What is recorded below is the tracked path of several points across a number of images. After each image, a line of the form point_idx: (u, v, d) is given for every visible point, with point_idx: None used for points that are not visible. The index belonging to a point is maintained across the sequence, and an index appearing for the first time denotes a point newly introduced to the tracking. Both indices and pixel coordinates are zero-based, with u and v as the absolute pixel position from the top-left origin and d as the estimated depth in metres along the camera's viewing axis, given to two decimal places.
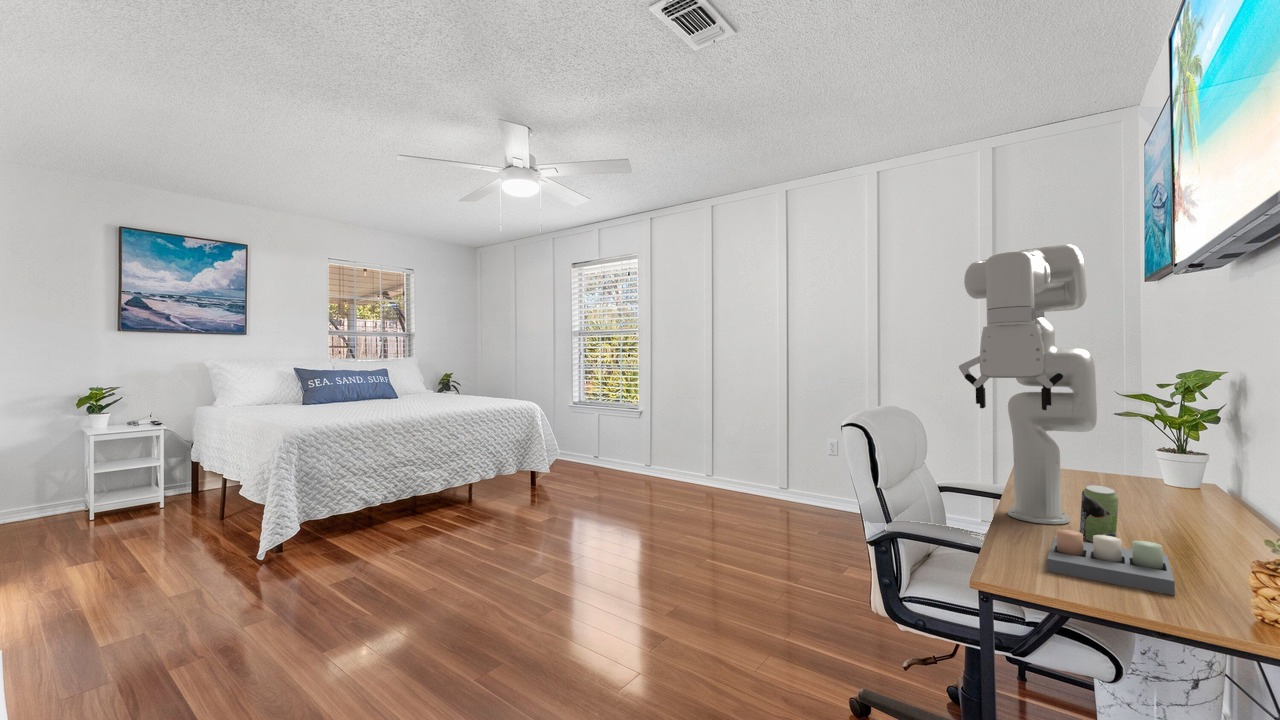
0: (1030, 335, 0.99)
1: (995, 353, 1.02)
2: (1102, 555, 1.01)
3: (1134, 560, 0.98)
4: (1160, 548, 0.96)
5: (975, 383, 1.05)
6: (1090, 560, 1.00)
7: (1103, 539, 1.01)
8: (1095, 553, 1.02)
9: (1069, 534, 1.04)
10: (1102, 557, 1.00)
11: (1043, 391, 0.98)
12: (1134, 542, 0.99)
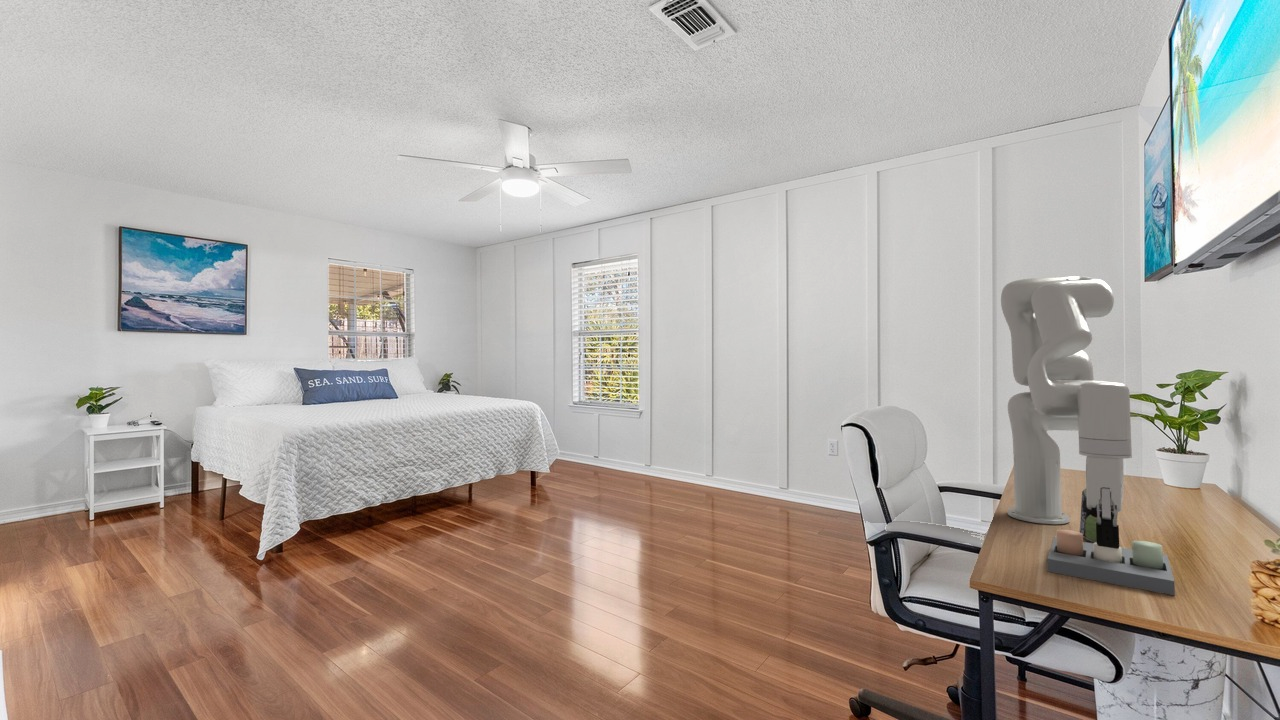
0: None
1: None
2: None
3: (1134, 560, 0.98)
4: (1160, 548, 0.96)
5: None
6: (1090, 560, 1.00)
7: None
8: None
9: (1069, 534, 1.04)
10: None
11: None
12: (1134, 542, 0.99)
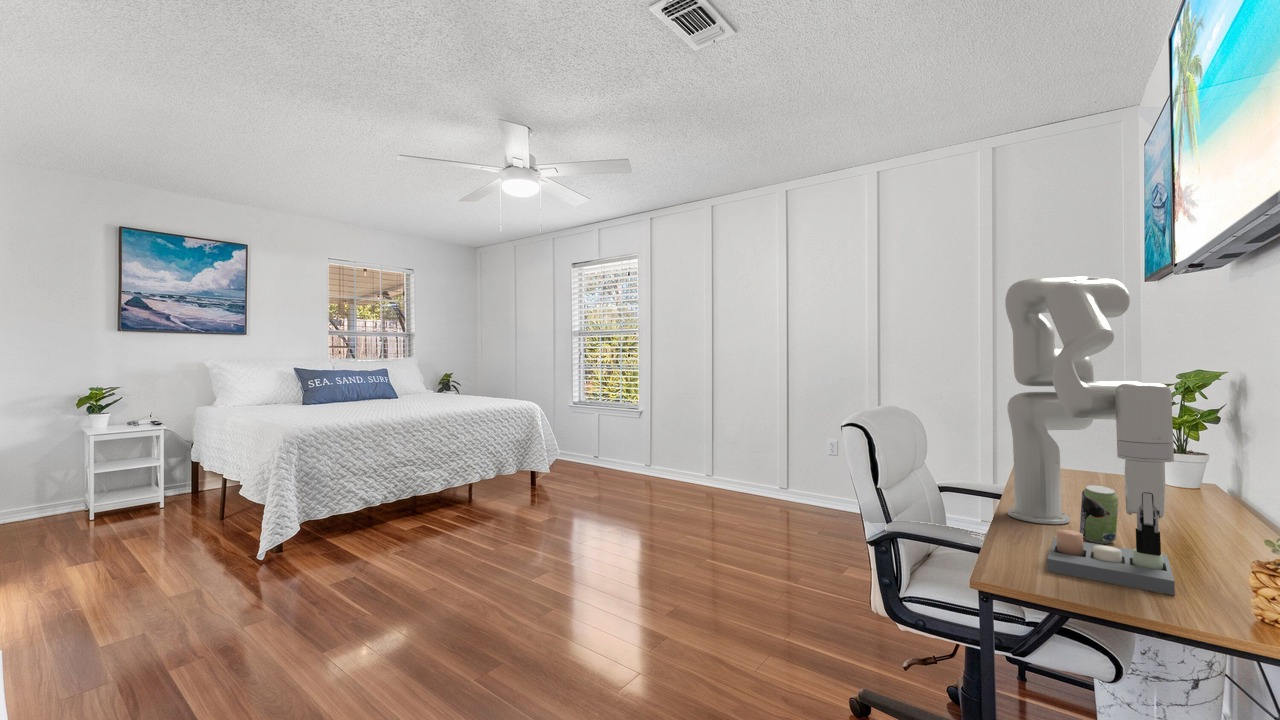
0: None
1: None
2: None
3: None
4: (1160, 557, 0.96)
5: None
6: (1090, 560, 1.00)
7: (1103, 550, 1.01)
8: None
9: (1069, 534, 1.04)
10: None
11: None
12: (1134, 550, 0.99)
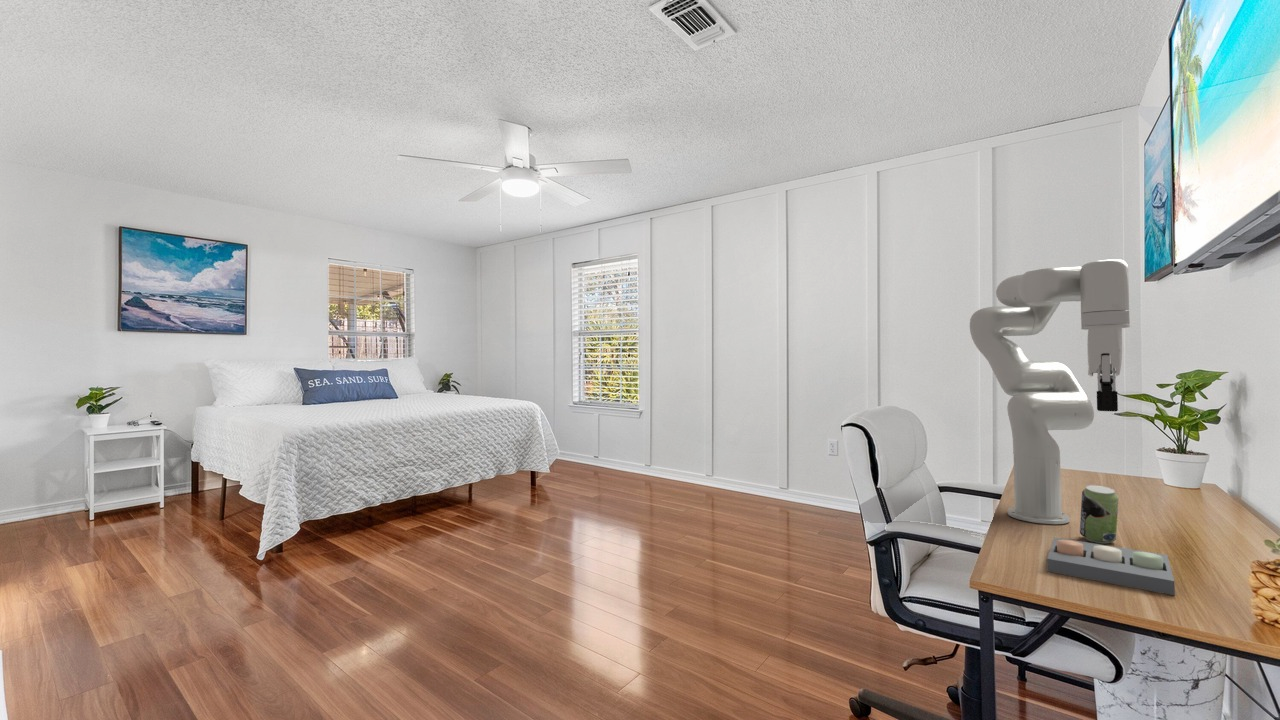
0: None
1: (1121, 353, 1.07)
2: None
3: None
4: (1160, 559, 0.96)
5: (1114, 389, 1.09)
6: (1090, 560, 1.00)
7: (1103, 550, 1.01)
8: None
9: (1069, 544, 1.04)
10: None
11: (1116, 394, 1.10)
12: (1134, 553, 0.99)
